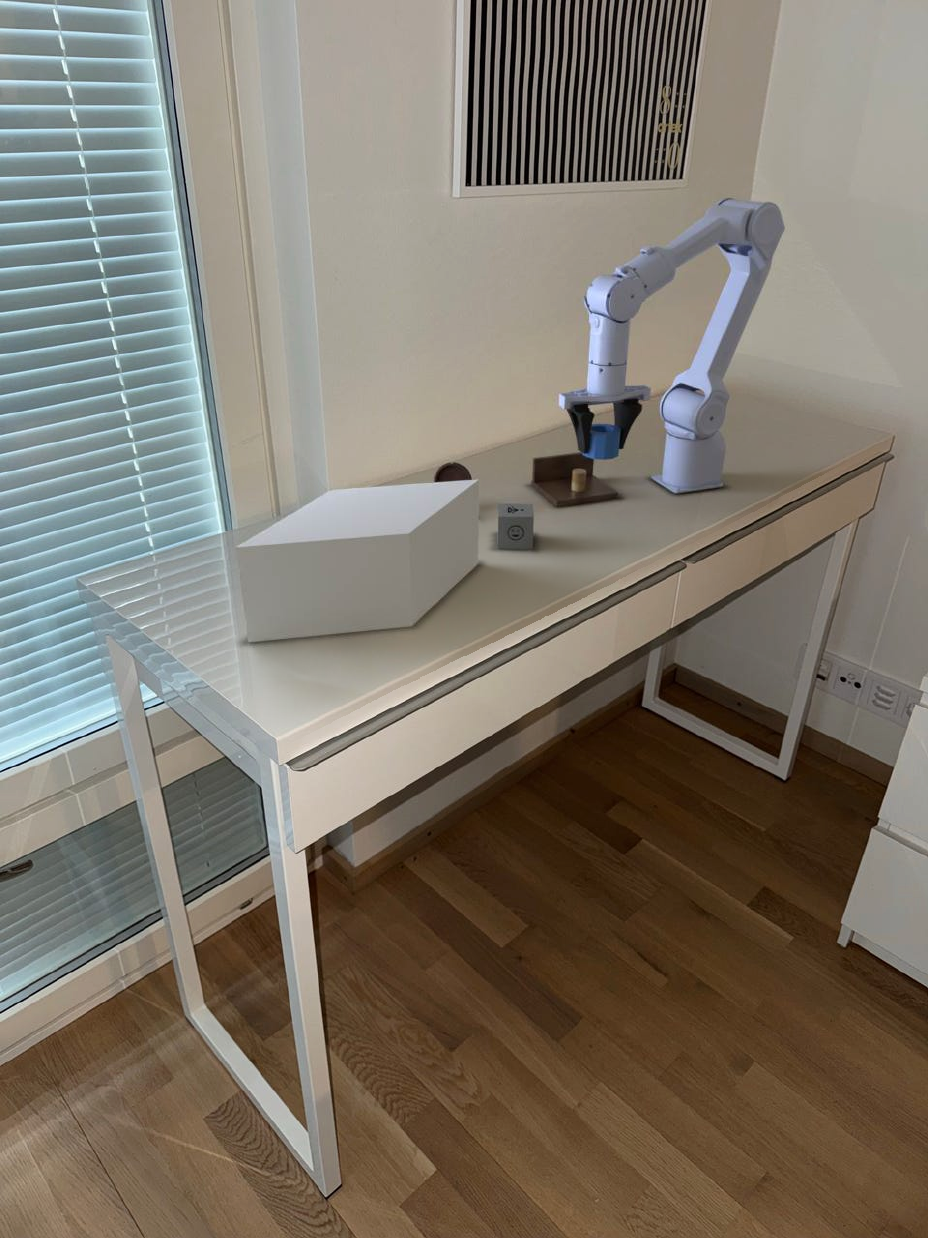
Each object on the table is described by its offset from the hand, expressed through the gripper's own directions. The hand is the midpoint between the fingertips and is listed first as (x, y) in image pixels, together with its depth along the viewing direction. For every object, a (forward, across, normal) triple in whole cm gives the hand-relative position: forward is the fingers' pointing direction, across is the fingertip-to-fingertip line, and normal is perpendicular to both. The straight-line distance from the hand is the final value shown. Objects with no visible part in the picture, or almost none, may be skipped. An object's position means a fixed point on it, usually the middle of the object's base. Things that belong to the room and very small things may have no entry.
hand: (601, 449), depth 142 cm
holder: (+9, +2, -6) cm, 11 cm away
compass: (+9, +24, -3) cm, 25 cm away
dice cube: (+9, +18, +10) cm, 23 cm away
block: (+9, +43, +20) cm, 48 cm away
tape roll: (+1, 0, 0) cm, 1 cm away
